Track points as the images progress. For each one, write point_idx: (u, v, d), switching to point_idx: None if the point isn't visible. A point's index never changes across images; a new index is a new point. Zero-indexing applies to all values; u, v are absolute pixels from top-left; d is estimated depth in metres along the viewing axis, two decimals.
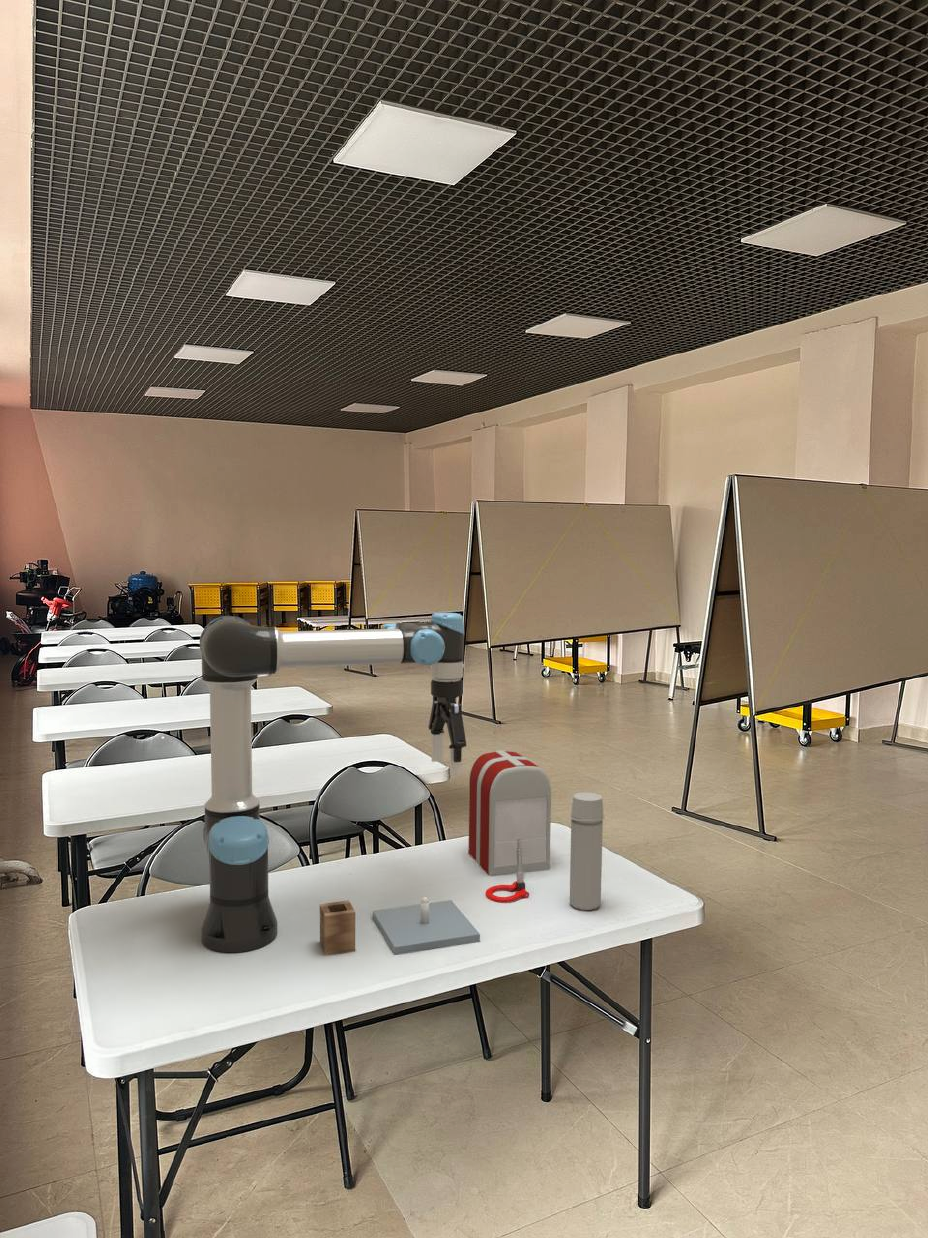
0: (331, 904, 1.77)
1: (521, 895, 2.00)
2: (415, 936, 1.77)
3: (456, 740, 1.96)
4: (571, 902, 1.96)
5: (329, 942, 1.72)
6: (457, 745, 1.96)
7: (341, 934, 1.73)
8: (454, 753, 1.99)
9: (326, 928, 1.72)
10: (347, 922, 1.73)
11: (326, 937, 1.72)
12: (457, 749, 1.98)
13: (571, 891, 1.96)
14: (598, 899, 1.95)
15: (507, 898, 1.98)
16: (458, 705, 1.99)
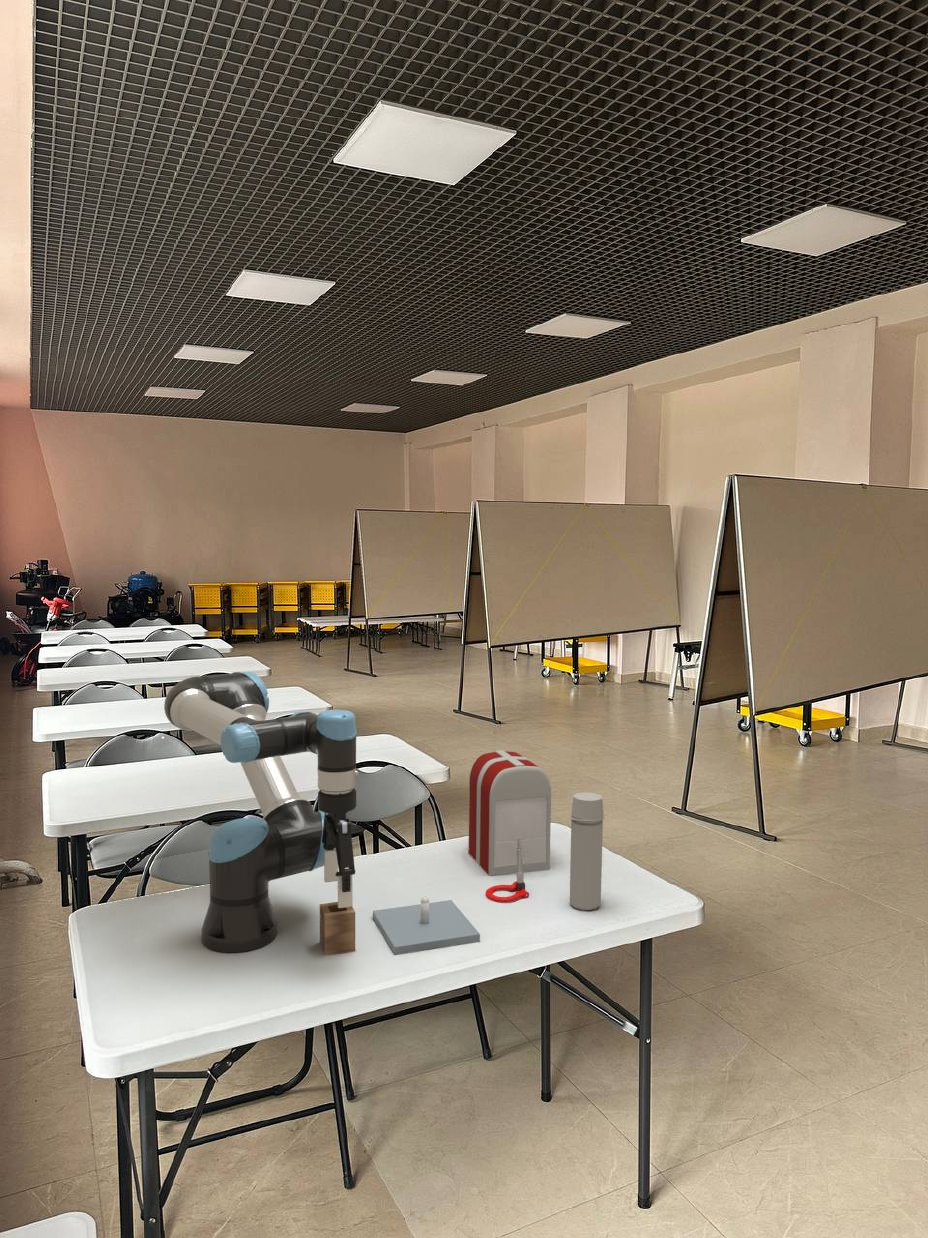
0: (331, 904, 1.77)
1: (521, 895, 2.00)
2: (415, 936, 1.77)
3: (343, 867, 1.65)
4: (571, 902, 1.96)
5: (329, 942, 1.72)
6: (344, 874, 1.64)
7: (341, 934, 1.73)
8: (342, 881, 1.67)
9: (326, 928, 1.72)
10: (347, 922, 1.73)
11: (326, 937, 1.72)
12: (345, 877, 1.66)
13: (571, 891, 1.96)
14: (598, 899, 1.95)
15: (507, 898, 1.98)
16: (347, 824, 1.67)
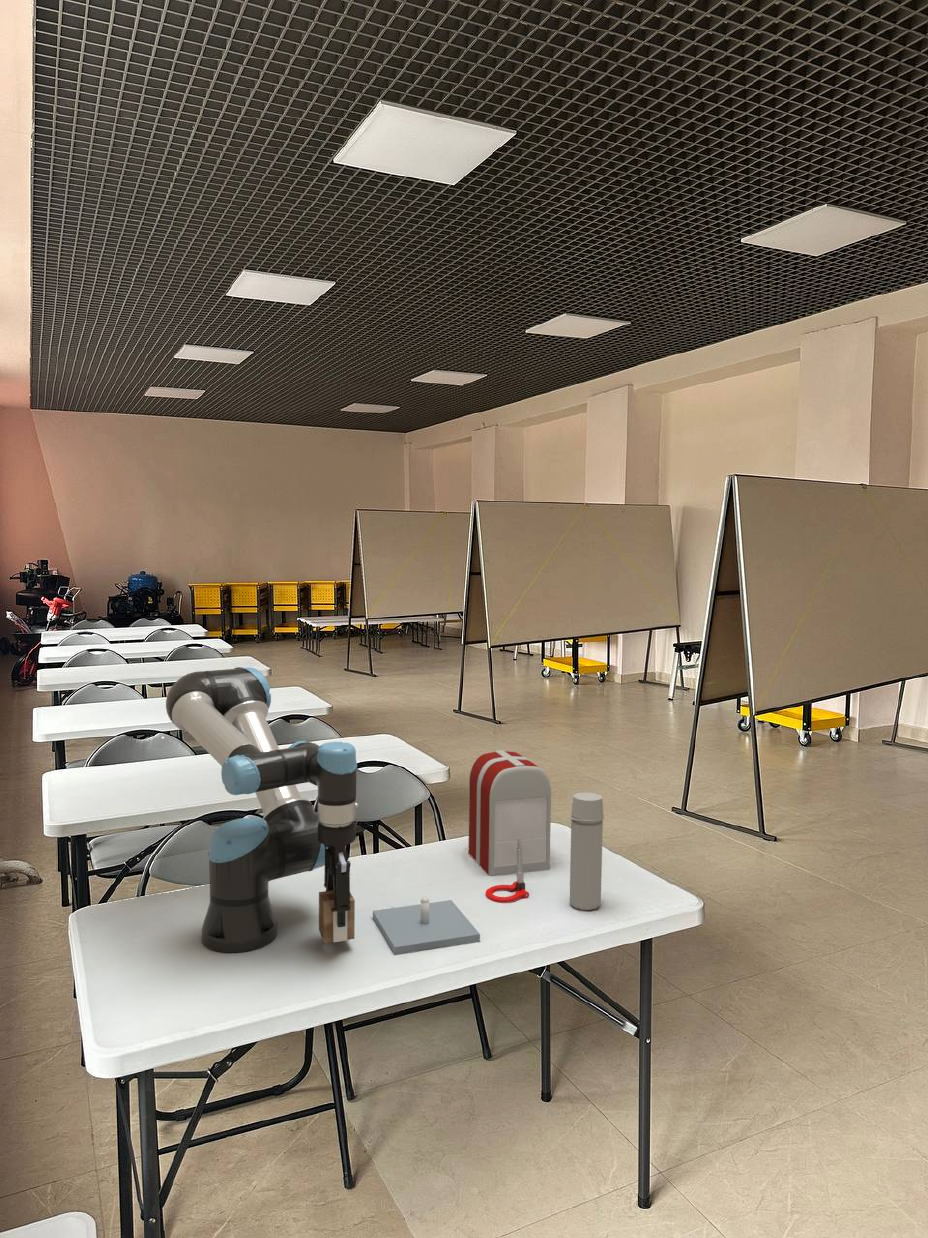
0: (331, 892, 1.77)
1: (521, 895, 2.00)
2: (415, 936, 1.77)
3: (338, 905, 1.69)
4: (571, 902, 1.96)
5: (328, 930, 1.72)
6: (339, 910, 1.69)
7: None
8: (337, 916, 1.71)
9: (325, 916, 1.72)
10: None
11: (325, 925, 1.72)
12: (340, 912, 1.71)
13: (571, 891, 1.96)
14: (598, 899, 1.95)
15: (507, 898, 1.98)
16: (346, 865, 1.68)
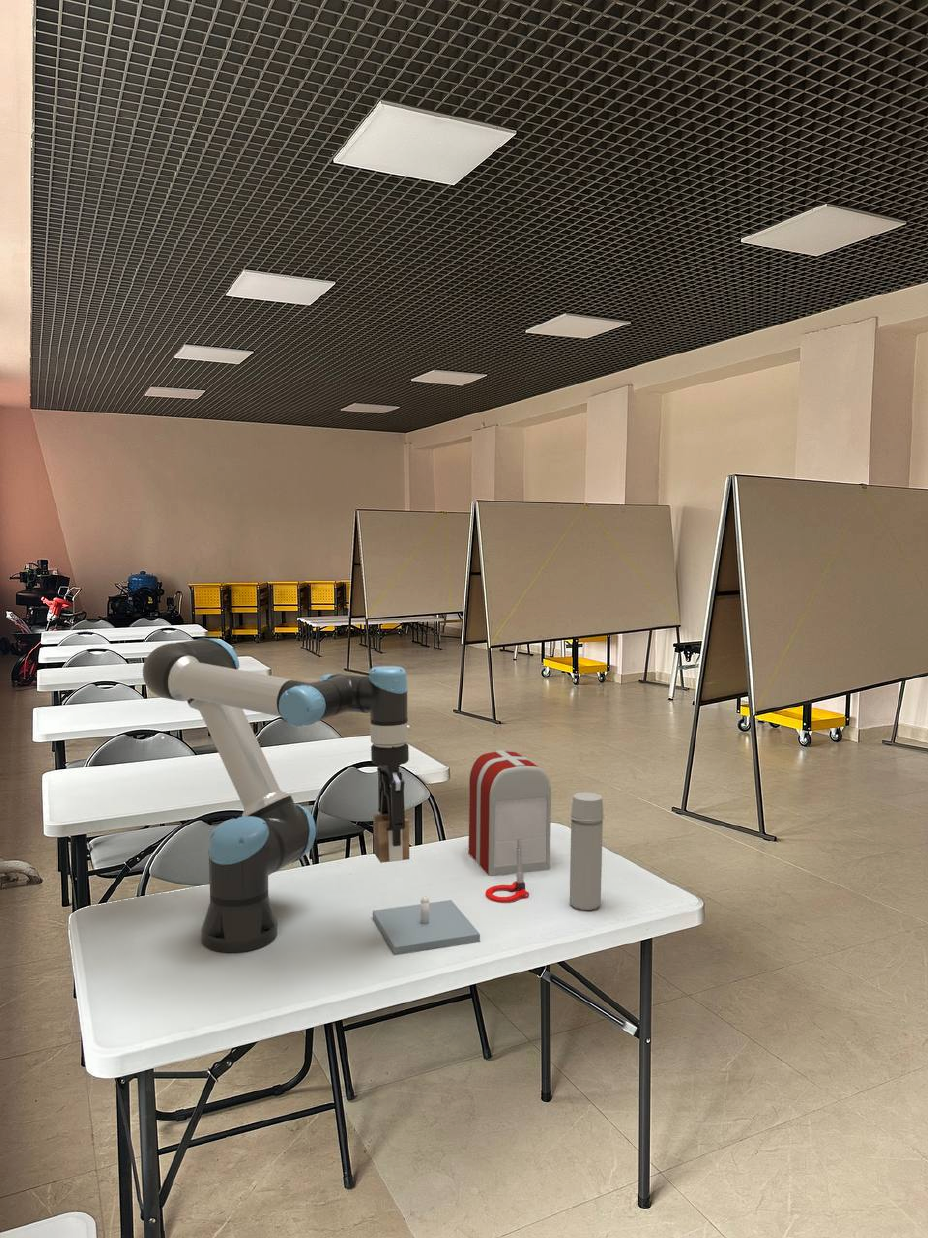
0: (385, 815, 1.80)
1: (521, 895, 2.00)
2: (415, 936, 1.77)
3: (394, 823, 1.71)
4: (571, 902, 1.96)
5: (384, 849, 1.75)
6: (394, 828, 1.71)
7: None
8: (392, 835, 1.74)
9: (380, 835, 1.74)
10: None
11: (381, 844, 1.75)
12: (395, 831, 1.73)
13: (571, 891, 1.96)
14: (598, 899, 1.95)
15: (507, 898, 1.98)
16: (400, 783, 1.71)
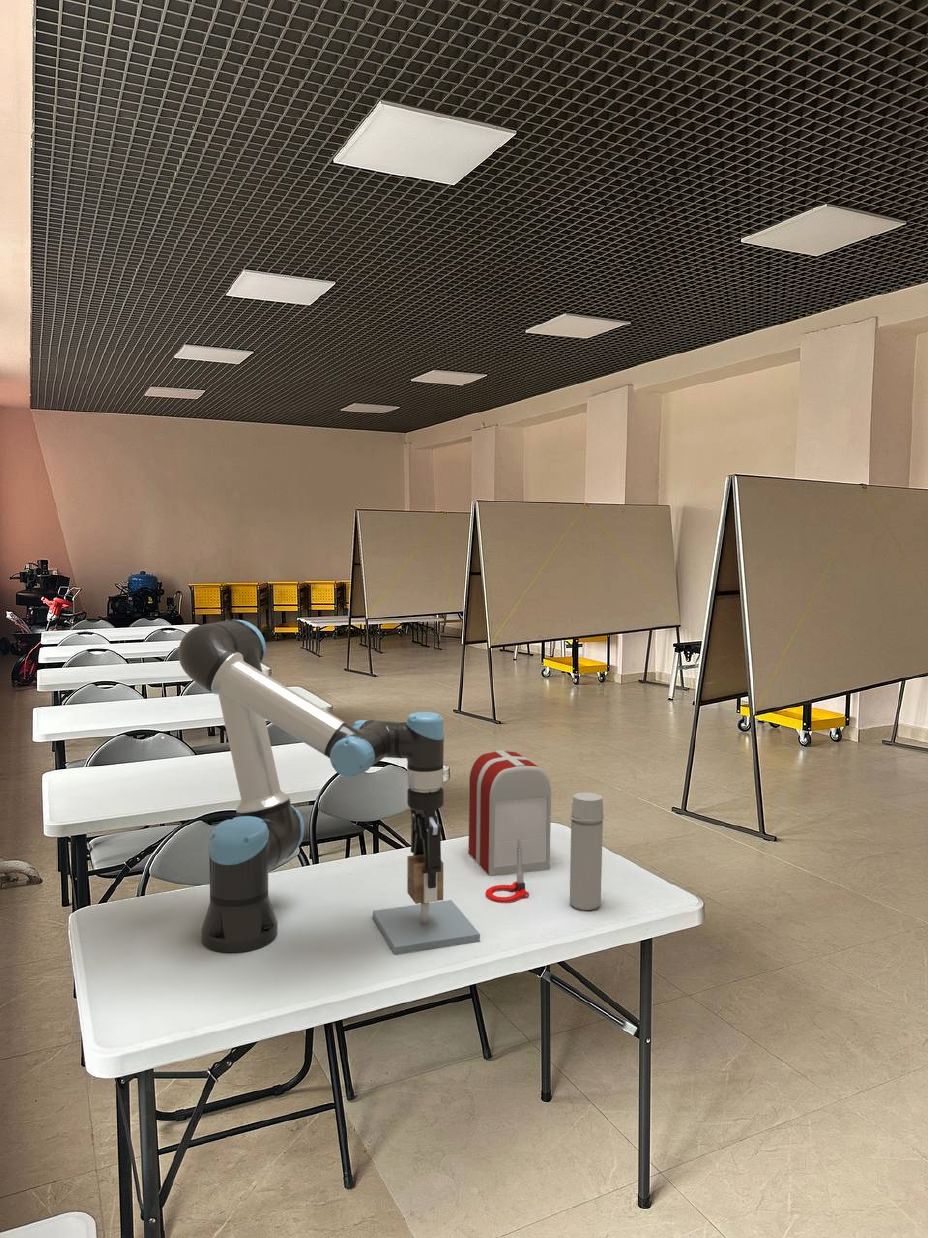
0: (419, 856, 1.84)
1: (521, 895, 2.00)
2: (415, 936, 1.77)
3: (430, 866, 1.76)
4: (571, 902, 1.96)
5: (419, 891, 1.80)
6: (431, 871, 1.76)
7: None
8: (428, 878, 1.79)
9: (416, 877, 1.79)
10: None
11: (416, 886, 1.79)
12: (431, 874, 1.78)
13: (571, 891, 1.96)
14: (598, 899, 1.95)
15: (507, 898, 1.98)
16: (437, 827, 1.76)
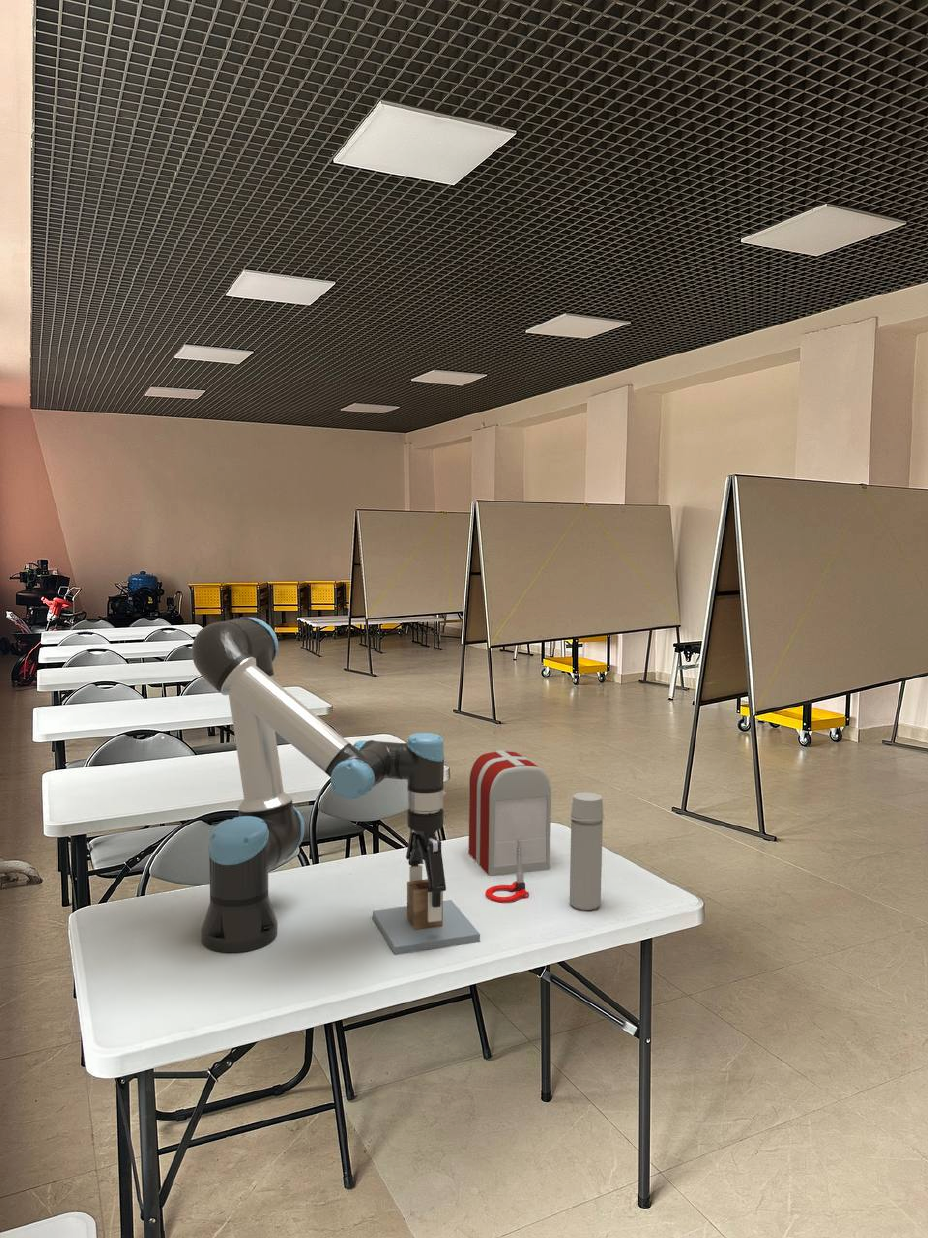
0: (418, 882, 1.85)
1: (521, 895, 2.00)
2: (415, 936, 1.77)
3: (434, 884, 1.74)
4: (571, 902, 1.96)
5: (418, 917, 1.80)
6: (435, 890, 1.73)
7: None
8: (432, 896, 1.76)
9: (416, 904, 1.80)
10: None
11: (416, 913, 1.80)
12: (436, 893, 1.75)
13: (571, 891, 1.96)
14: (598, 899, 1.95)
15: (507, 898, 1.98)
16: (437, 842, 1.76)
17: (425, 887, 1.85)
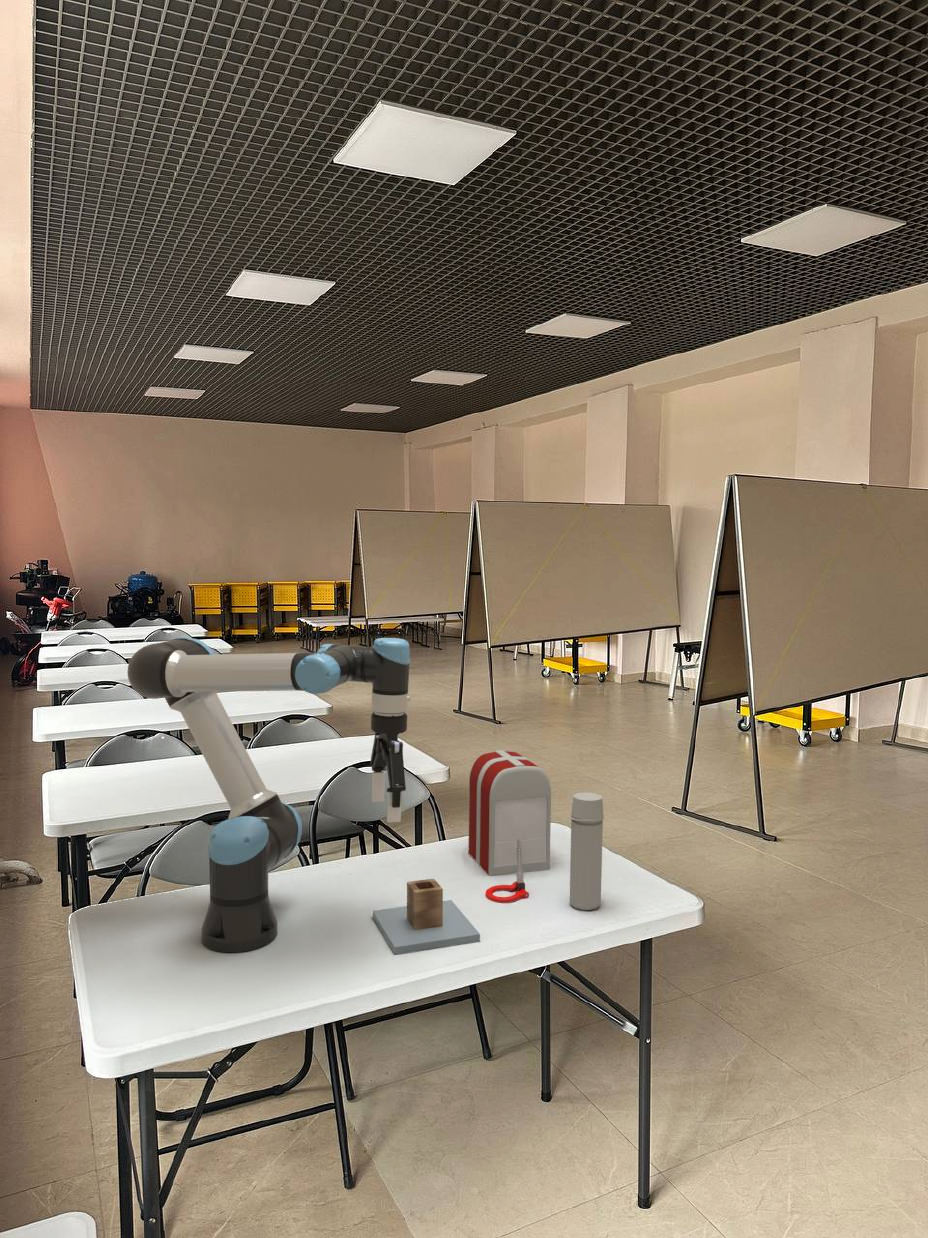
0: (418, 882, 1.85)
1: (521, 895, 2.00)
2: (415, 936, 1.77)
3: (394, 783, 1.75)
4: (571, 902, 1.96)
5: (418, 917, 1.80)
6: (395, 789, 1.74)
7: (429, 910, 1.81)
8: (392, 797, 1.77)
9: (416, 904, 1.80)
10: (435, 898, 1.81)
11: (416, 913, 1.80)
12: (396, 793, 1.76)
13: (571, 891, 1.96)
14: (598, 899, 1.95)
15: (507, 898, 1.98)
16: (399, 743, 1.77)
17: (425, 887, 1.85)
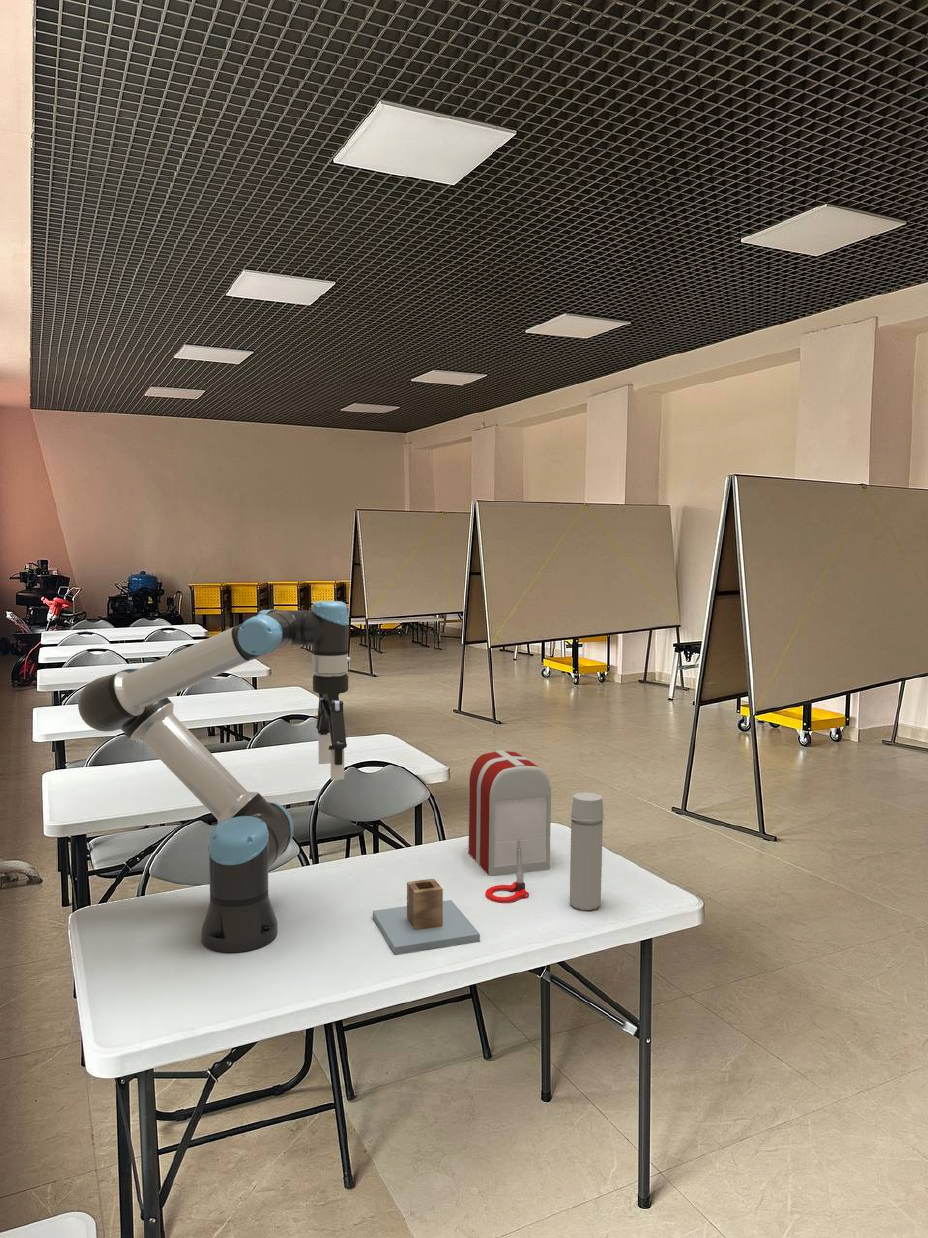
0: (418, 882, 1.85)
1: (521, 895, 2.00)
2: (415, 936, 1.77)
3: (335, 741, 1.79)
4: (571, 902, 1.96)
5: (418, 917, 1.80)
6: (336, 746, 1.78)
7: (429, 910, 1.81)
8: (334, 754, 1.81)
9: (416, 904, 1.80)
10: (435, 898, 1.81)
11: (416, 913, 1.80)
12: (337, 750, 1.80)
13: (571, 891, 1.96)
14: (598, 899, 1.95)
15: (507, 898, 1.98)
16: (339, 702, 1.81)
17: (425, 887, 1.85)
